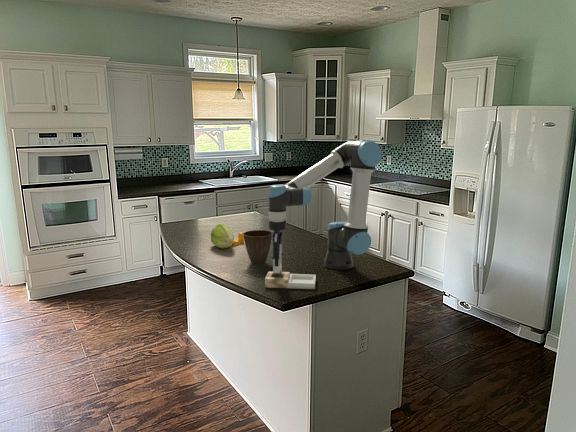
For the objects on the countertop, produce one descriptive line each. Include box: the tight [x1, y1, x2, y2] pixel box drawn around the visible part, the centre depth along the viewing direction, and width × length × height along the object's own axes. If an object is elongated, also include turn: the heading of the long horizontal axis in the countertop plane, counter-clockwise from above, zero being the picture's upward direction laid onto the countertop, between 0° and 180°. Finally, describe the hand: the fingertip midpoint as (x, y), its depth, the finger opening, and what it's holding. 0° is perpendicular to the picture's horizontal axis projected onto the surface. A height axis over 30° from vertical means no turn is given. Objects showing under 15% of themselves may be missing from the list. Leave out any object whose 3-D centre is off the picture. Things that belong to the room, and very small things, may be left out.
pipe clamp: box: [229, 231, 245, 248], centre depth 259 cm, size 12×4×6 cm, turn 138°
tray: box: [287, 273, 317, 290], centre depth 193 cm, size 12×12×2 cm
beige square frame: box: [264, 271, 291, 289], centre depth 193 cm, size 10×10×4 cm
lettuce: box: [210, 224, 235, 249], centre depth 248 cm, size 13×22×14 cm, turn 27°
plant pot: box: [242, 229, 273, 266], centre depth 222 cm, size 15×15×16 cm
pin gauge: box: [272, 244, 283, 278], centre depth 191 cm, size 4×4×16 cm
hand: (277, 270), depth 192 cm, fingers closed on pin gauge, 4 cm apart
